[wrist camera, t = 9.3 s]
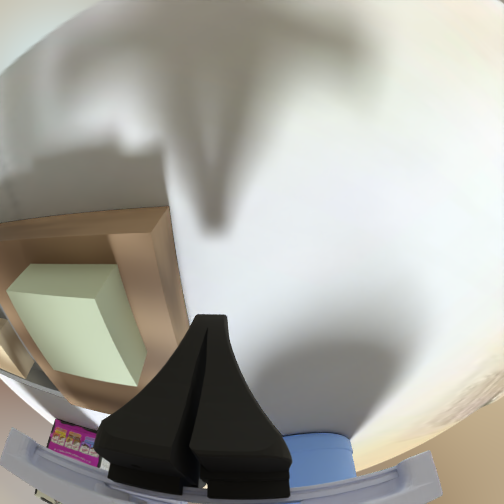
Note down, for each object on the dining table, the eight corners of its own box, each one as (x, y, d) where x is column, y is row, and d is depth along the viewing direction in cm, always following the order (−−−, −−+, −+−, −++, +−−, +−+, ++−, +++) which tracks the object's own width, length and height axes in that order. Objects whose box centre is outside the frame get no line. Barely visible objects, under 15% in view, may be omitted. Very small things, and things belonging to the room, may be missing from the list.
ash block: (-5, 366, 18) (4, 351, 20) (25, 378, 18) (34, 361, 20) (-32, 327, 15) (-20, 312, 17) (-5, 337, 15) (7, 319, 17)
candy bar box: (69, 430, 32) (50, 502, 18) (55, 417, 30) (31, 494, 15) (121, 444, 32) (106, 527, 18) (107, 433, 30) (89, 523, 15)
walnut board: (207, 399, 22) (205, 427, 20) (79, 381, 22) (70, 404, 19) (169, 206, 13) (151, 232, 11) (-1, 223, 13) (-26, 243, 10)
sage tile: (147, 351, 14) (137, 386, 12) (68, 341, 14) (53, 369, 12) (117, 264, 11) (94, 298, 9) (30, 263, 11) (5, 290, 9)
